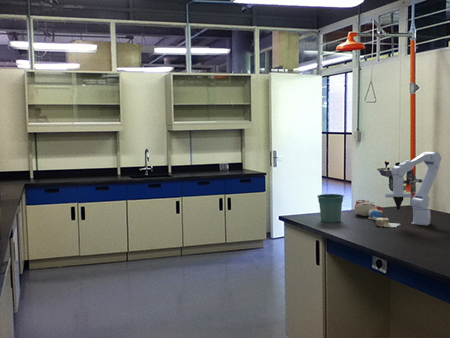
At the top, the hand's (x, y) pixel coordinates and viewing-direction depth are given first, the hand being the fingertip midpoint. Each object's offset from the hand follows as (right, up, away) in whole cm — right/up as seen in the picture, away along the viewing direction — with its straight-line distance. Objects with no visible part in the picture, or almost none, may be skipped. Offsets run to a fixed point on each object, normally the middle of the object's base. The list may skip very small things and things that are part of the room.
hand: (398, 209), depth 297 cm
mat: (-4, -10, +4) cm, 11 cm away
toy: (-8, -8, +30) cm, 32 cm away
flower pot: (-35, -9, +22) cm, 42 cm away
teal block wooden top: (-5, -8, +3) cm, 10 cm away
